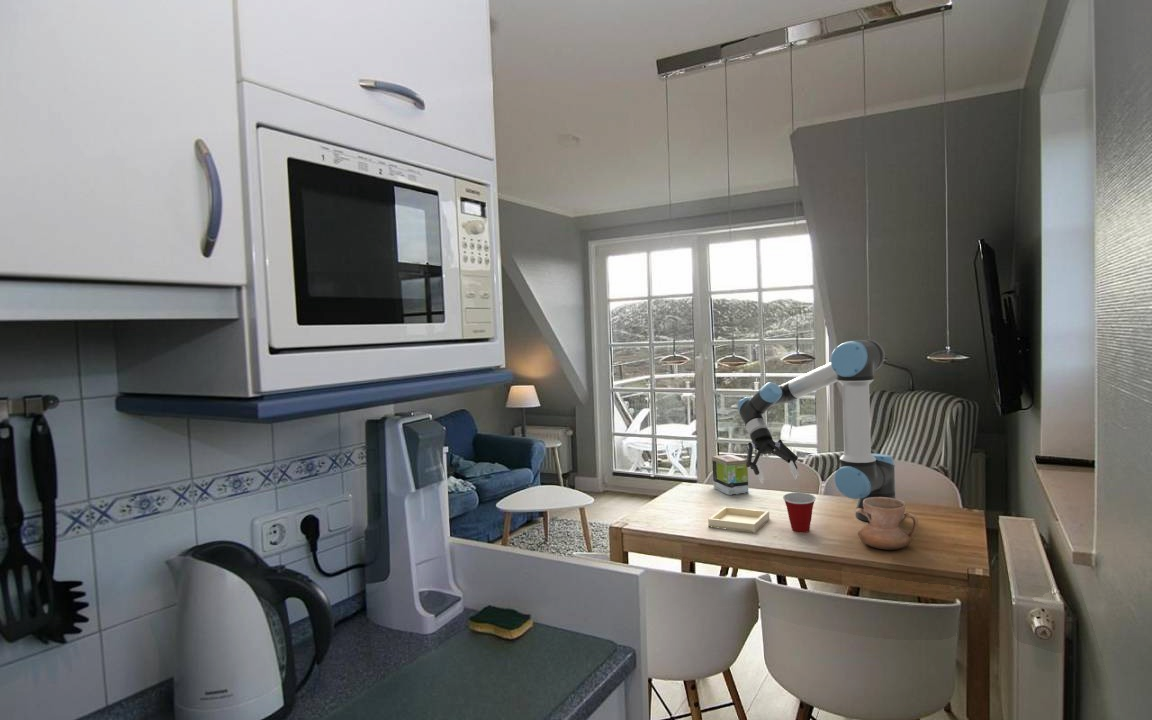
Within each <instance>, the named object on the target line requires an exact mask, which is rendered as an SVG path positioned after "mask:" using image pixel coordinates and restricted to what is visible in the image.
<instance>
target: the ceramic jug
mask: <svg viewBox="0 0 1152 720" xmlns="http://www.w3.org/2000/svg"><path fill="white" fill-rule="evenodd" d="M863 507H864V509H862V508H857V509H856V508H855V509H854V512H855V514H856V513H861V514H863V515H865V516H866V517H867V518H868V520H869V523H868V524H867V525H864V526H863V527H862V528H861V529H860V530H858V531H857V535H858V536H859V538H860V540H861V542H863V543H864V544H866V545H868V546H869V547H871V548H875V549H878V550H887V551H888V550H899V549H902V548H905V547H907V546H908V545H909V544H910V543H911V541H912V540H913V536H914V535H915V533H916V532H917V530H918V528H919V527H918V526H919V519H918V517H917V516H916V515H915V514H913V513H910V512H908V513H907V512H906V513H905V511H906V503H905V501H904V500H901V499H898V498H896V499H894V498H888V497H871V498H866V499H864V500H863ZM907 518H909V519H910V518H911V519H912V521H913V522H912V523H913V525H912V529H911V530H910V532H907V531H906V530H905V529H904V528H902V527H901V526H900V524H901V522H902V521H904V520H905V519H907Z"/></svg>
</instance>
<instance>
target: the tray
mask: <svg viewBox="0 0 1152 720" xmlns="http://www.w3.org/2000/svg"><path fill="white" fill-rule="evenodd" d="M769 520H770V511H769V510H761V509H751V508H742V507H731V506H724V507H722V508H721V509H720V510H718V511H717V512H716V513H714V514H713V515H711V516H710V517H708V519H707V521H708V527H709V526H712V527H719V528H718V529H720V528H726V529H725V530H728V529H732V530H731V531H736V530H739V532H744V531H747V532H746V533H752V532H754V533H757V531H759V530H760V527H761V526H762V525H763V524H764V523H765V524H766V523H767V522H768V521H769ZM765 524H764V525H765ZM764 525H763V526H764ZM763 526H762V527H763ZM712 527H711V528H712ZM762 527H761V528H762ZM733 529H734V530H733ZM754 533H753V534H754Z"/></svg>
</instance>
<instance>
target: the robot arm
mask: <svg viewBox="0 0 1152 720" xmlns="http://www.w3.org/2000/svg"><path fill="white" fill-rule="evenodd" d="M885 356H886V354H885V350H884V348H883V347H882V345H881V344H880V343H878V342H877V341H875V340H873V339H860V340H849V341H845V342H842V343H841V344H839V345H838V346H836V347H835V348H834V349H833V351H832V352H831V354H830V362H828V363H826V364H824V365H822V366H819V367H817V368H814V369H812V370H811V371H808V372H807V373H804V374H802V375H800V376H797V377H795V378H793V379H790V380H789V381H787V382H785V383H782V384H777V383H775V382H771V381H768V382H767V383H765V384H764V385H763V386H761V387H760V389H759V390H758V391H757V392H756V393H755V394H753V396H746V397H743V398H742V399H740V400H739V401H738V402H737V410H738V413H739V415H740V417H741V418H742V419H741V420H742V422H743V423H744V425H745V428H746V430H747V433H748V434H749V435H748V436H749V437H750V440H751V442H748V444H747V445H746V450H747V457H746V459H747V462H746V467H748V468H750V469H751V470H753V472H754V473H753V474H754V475H755V476H757V478H758V479H759V482H760V484H764V482H765V480H766V477H765V475H764V473H763V470H762V469H761V466H760V464H758V461H759V459H760V457H761V454H763V455H770V454H772V455H773V456H777V457H779V458H780V459H782V460H783V461H784V462H786V463H788V464H787V465H788V468H789V470H790V472H791V474H792V476H793V478H794V481H795V480H798V478H799V477H800V473H799V472H798V466H797V463H796V462H797V460H798V459H799V457H798V456H797V455H796V454H795V453H794V451H792V450H791V449H789V447H788V446H786V445H785V443H784V442H783V440H781V439H778V440H777V441H775V440H774V439H773V437H772V434H771V432H770V430H769V428H768V425H767V423H766V421H765V419H764V416H763V415H764V414H765V413H766V412H767V411H768V410H769V409H771V407H774V406H775V407H776V406H779V405H783V404H790V403H793V402H795V401H797V399H799V398H802V397H804V396H807V395H808V394H811V393H813V392H816V391H818V390H822V389H823V388H825V387H828V386H830V385H833V384H835V383H839V384H840V385H841V389H842V391H841V393H842V395H841V396H842V427H843V432H842V433H843V453H842V455H840V456H839V468H838V469H837V470H836V471H835V474H834V476H833V477H834V478H833V479H834V484H835V487H836V488H837V491H839V492H840V493H841V494H842V495H843V496H845V497H846V498H849V499H853V500H857V504H856V506H855V509H857V508H862V509H864V507H863V500H864V499H866V498H871V497H888V498H894V499H897V497H896V478H895V477H896V475H895V473H896V472H895V467H896V465H895V462H894V461H895V459H894V457H893V456H891V455H889V454H884V453H883V454H881V453H872V448H871V447H872V445H871V442H872V441H871V437H872V435H871V410H870V409H871V408H870V407H871V406H870V405H871V404H870V403H871V402H870V384H871V383H872V382H873V381H875V379H874V378H875V373H874V372H875V371H876V370H878V369H879V368H881V367H882V365H883V364H884V361H885V360H886V359H885ZM754 449H755V450H756V451H757V453H756V455H755V458H754V459H753V451H754ZM752 460H753V461H752ZM855 517H856V518H857V520H858V519H859V520H860V521H861V520H862V521H864V522H869V520H868V518H867V517H866V516H865V515H863V514H861V513H856V512H855ZM869 523H870V522H869Z"/></svg>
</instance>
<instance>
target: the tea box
mask: <svg viewBox="0 0 1152 720" xmlns="http://www.w3.org/2000/svg"><path fill="white" fill-rule="evenodd" d="M711 461H712V479H713V481H712V482H713V483H712V485H713V488H714V489H716V490H718V491H719V492H722V493H723V494H726V495H727V496H733V495H732V494H736V495H739V494H738V493H744V494H746V493H745V492H748V493H749V472H748V470H749V469H748V468H749V467H746V462H747V458H744V457H741V456H737V455H735V454H732V453H731V454H730V453H729V454H720V455H719V454H718V455H712V456H711Z"/></svg>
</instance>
